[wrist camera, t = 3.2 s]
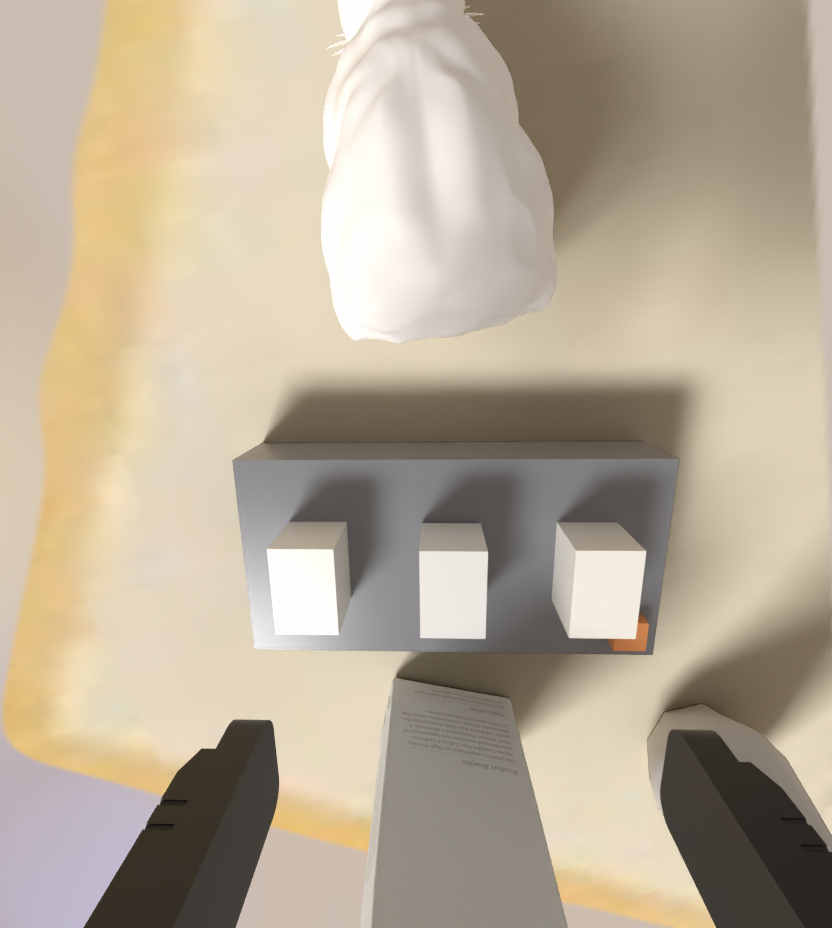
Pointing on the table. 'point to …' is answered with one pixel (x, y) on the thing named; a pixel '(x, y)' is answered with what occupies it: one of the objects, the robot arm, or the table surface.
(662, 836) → the table surface
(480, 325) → the whiskered white figurine
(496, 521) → the panel
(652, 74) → the table surface
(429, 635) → the block
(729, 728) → the salt shaker
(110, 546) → the table surface
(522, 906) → the skincare box
